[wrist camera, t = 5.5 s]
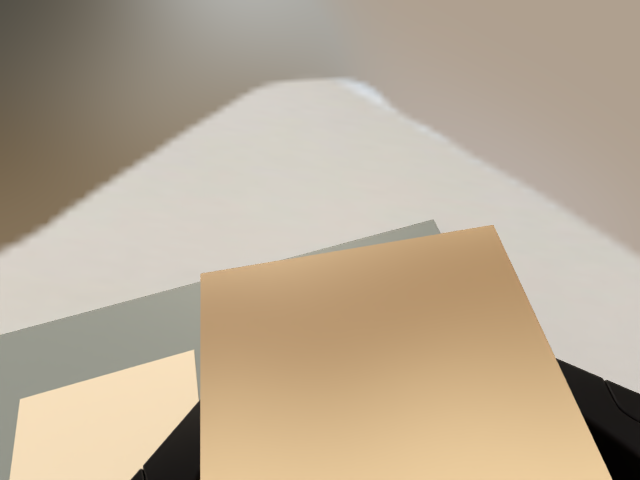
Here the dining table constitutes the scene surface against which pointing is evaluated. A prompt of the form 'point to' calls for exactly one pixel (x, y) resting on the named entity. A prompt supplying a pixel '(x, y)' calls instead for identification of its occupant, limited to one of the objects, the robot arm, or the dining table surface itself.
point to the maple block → (385, 369)
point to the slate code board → (109, 382)
